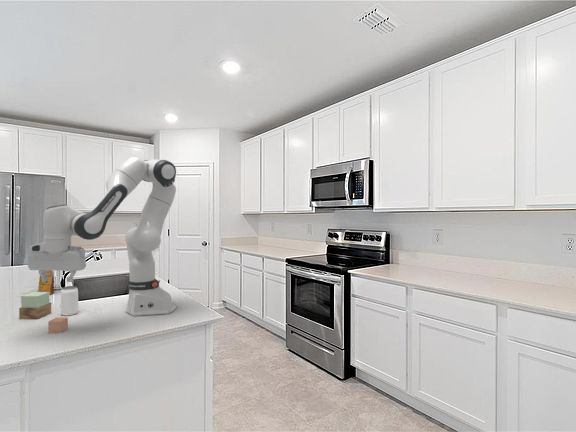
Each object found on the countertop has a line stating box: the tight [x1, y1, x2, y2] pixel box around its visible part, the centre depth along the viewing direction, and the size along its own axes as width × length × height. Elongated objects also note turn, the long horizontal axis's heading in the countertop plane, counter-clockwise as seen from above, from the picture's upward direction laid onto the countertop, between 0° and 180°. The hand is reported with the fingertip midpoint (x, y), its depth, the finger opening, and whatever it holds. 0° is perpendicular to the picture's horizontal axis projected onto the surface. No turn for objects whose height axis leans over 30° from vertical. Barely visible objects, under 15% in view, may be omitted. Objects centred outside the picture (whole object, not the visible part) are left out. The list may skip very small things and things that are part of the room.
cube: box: [47, 316, 69, 334], centre depth 128 cm, size 4×4×4 cm
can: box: [60, 285, 79, 317], centre depth 148 cm, size 6×6×12 cm
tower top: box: [20, 291, 50, 308], centre depth 144 cm, size 7×7×5 cm
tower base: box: [18, 302, 52, 320], centre depth 145 cm, size 8×8×5 cm
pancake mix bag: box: [37, 241, 55, 296], centre depth 183 cm, size 7×19×28 cm, turn 52°
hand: (57, 281), depth 128 cm, fingers open, 8 cm apart
